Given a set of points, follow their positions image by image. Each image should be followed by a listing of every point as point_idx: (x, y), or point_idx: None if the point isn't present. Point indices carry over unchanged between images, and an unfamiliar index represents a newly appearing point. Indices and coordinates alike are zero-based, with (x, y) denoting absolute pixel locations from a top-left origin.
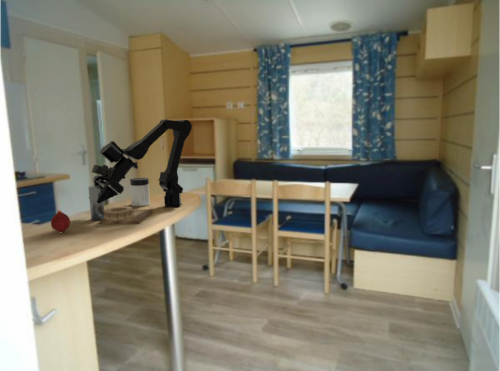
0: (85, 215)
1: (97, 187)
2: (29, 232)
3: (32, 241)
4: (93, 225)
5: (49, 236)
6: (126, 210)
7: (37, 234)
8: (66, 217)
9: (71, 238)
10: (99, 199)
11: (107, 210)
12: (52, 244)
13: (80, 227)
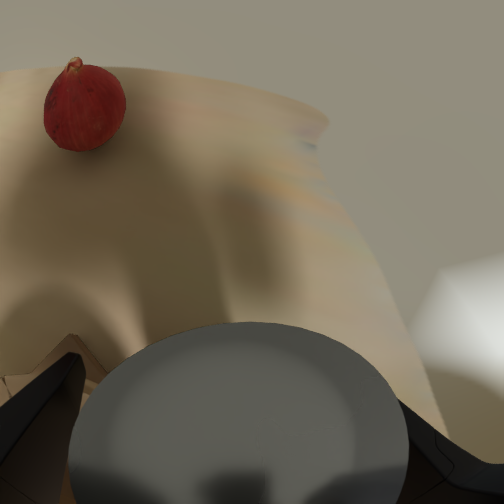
0: None
1: (71, 467)
2: (216, 84)
3: None
4: (80, 295)
5: None
6: None
7: (162, 90)
8: (45, 107)
9: (10, 152)
10: (45, 377)
11: None
12: (22, 104)
13: (101, 228)
